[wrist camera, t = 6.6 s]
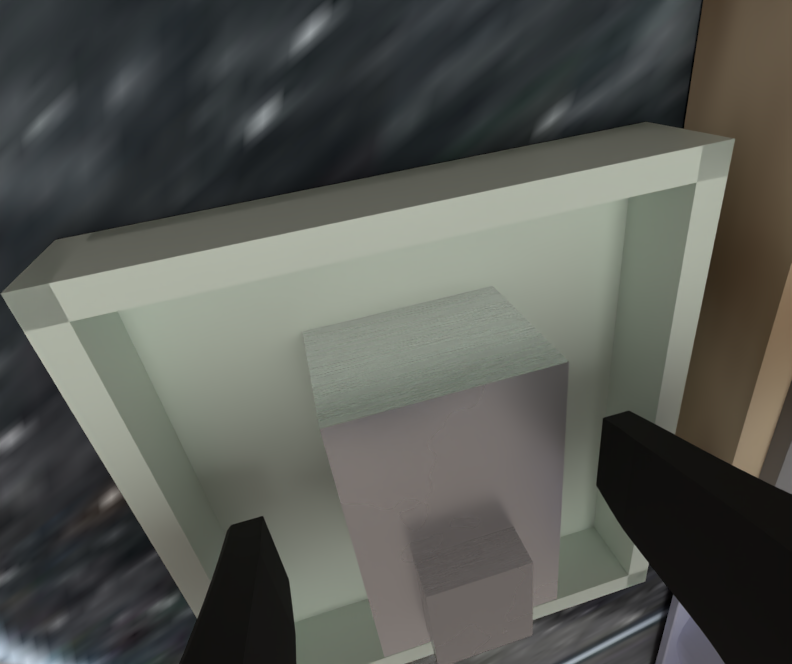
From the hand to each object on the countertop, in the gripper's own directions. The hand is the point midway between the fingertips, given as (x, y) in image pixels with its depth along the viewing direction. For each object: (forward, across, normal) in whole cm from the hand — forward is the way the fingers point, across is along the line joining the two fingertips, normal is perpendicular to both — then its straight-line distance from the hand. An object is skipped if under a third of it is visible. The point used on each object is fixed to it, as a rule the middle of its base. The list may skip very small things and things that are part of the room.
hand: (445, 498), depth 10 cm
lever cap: (+2, 0, 0) cm, 2 cm away
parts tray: (+2, 0, 0) cm, 2 cm away
